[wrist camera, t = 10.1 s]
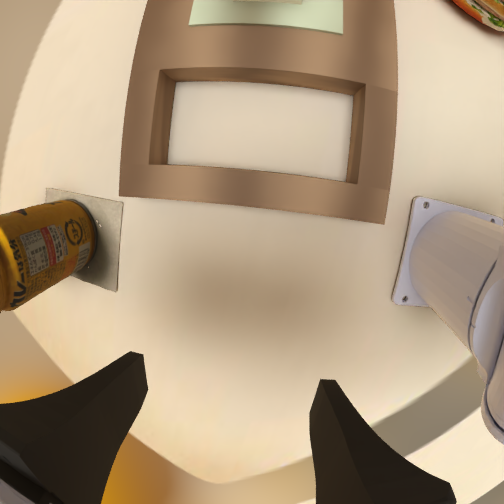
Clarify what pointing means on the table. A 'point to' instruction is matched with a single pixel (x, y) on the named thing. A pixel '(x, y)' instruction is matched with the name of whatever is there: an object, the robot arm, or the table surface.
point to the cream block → (281, 0)
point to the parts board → (273, 72)
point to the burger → (485, 11)
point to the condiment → (58, 245)
